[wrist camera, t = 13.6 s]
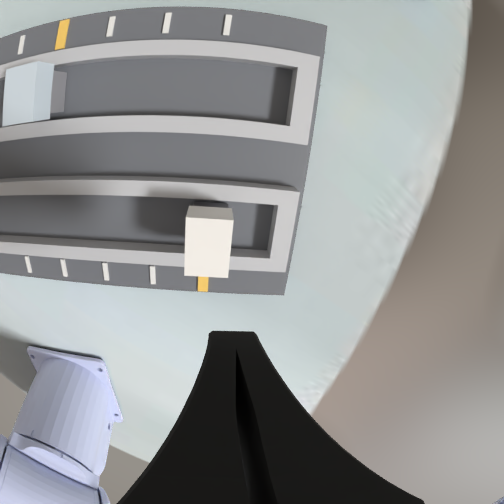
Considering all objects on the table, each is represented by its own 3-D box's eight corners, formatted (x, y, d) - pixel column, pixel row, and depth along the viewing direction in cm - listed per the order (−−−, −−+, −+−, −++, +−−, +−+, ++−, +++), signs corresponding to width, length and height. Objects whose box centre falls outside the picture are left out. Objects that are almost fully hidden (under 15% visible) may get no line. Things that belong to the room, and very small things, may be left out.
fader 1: (65, 116, 12) (32, 121, 10) (36, 120, 12) (2, 126, 9) (69, 67, 11) (37, 61, 8) (40, 72, 11) (6, 69, 8)
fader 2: (225, 247, 17) (228, 278, 14) (189, 244, 17) (184, 275, 14) (230, 198, 16) (233, 220, 13) (191, 195, 15) (185, 217, 12)
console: (280, 284, 20) (287, 304, 18) (-7, 263, 17) (-22, 277, 15) (319, 30, 13) (334, 21, 11) (-18, 50, 10) (-37, 49, 8)
